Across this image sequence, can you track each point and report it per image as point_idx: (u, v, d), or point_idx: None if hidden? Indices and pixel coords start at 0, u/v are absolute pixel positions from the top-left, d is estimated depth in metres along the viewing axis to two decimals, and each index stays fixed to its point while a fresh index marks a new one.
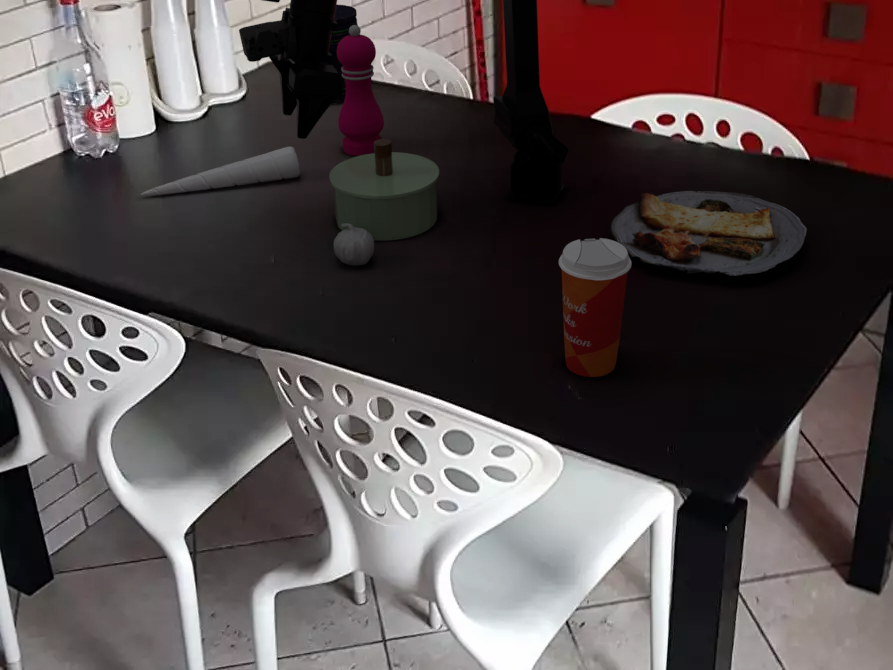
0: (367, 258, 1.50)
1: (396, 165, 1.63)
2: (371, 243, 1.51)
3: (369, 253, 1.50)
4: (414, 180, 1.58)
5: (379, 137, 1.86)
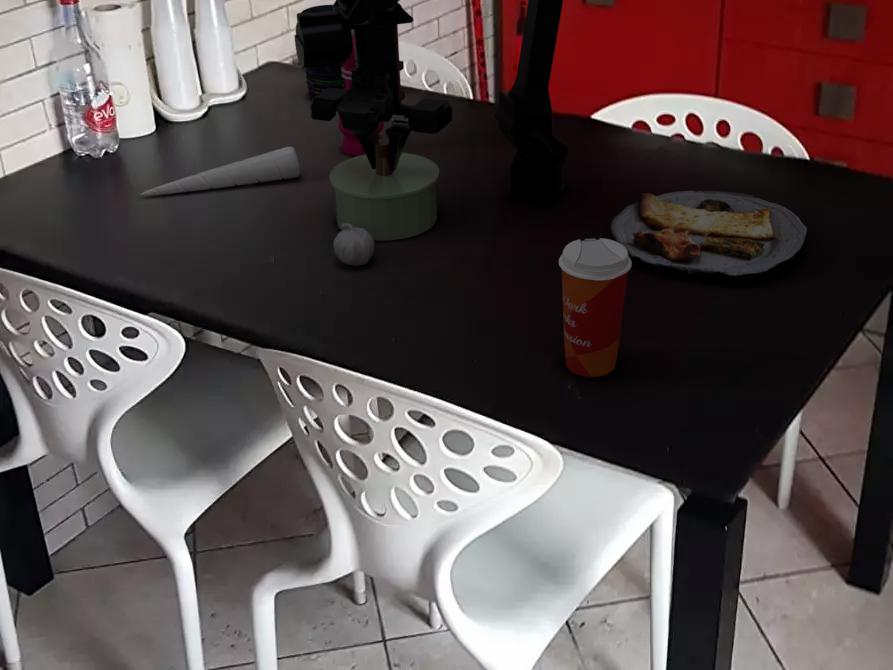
0: (367, 258, 1.50)
1: None
2: (371, 243, 1.51)
3: (369, 253, 1.50)
4: (414, 180, 1.58)
5: (379, 137, 1.86)
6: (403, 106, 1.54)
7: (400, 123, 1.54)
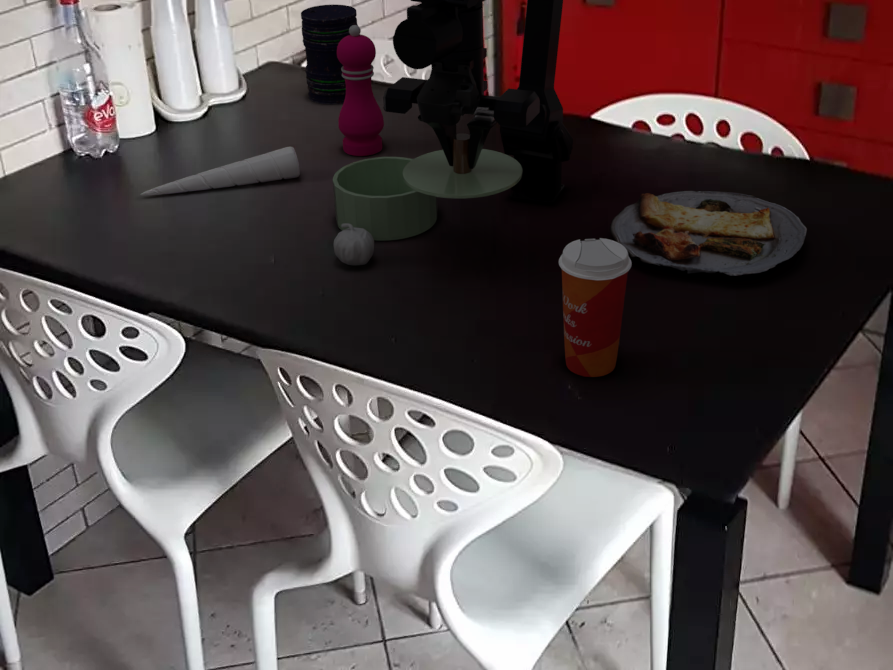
0: (367, 258, 1.50)
1: None
2: (371, 243, 1.51)
3: (369, 253, 1.50)
4: (496, 178, 1.45)
5: (379, 137, 1.86)
6: (486, 97, 1.41)
7: (483, 116, 1.41)
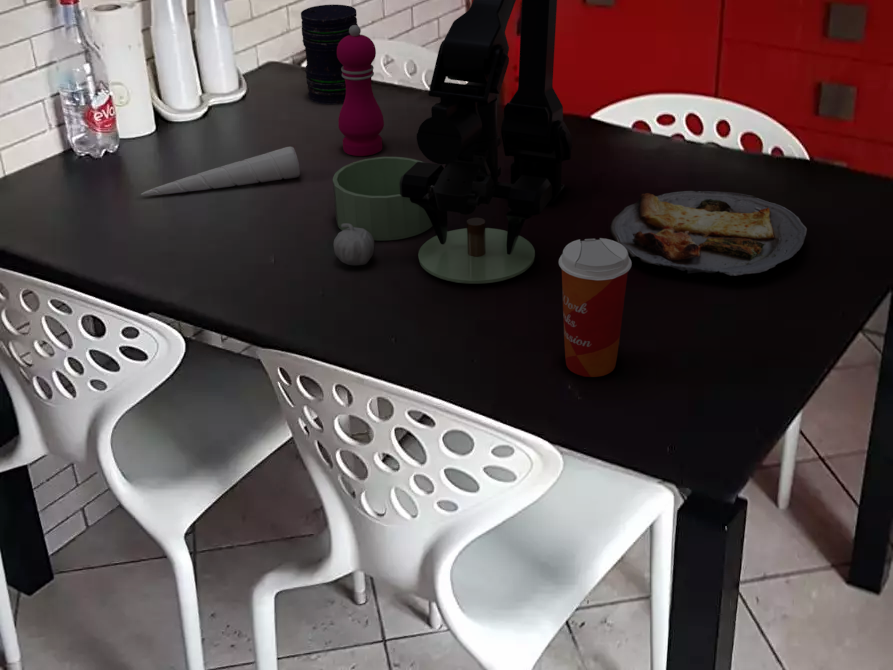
0: (367, 258, 1.50)
1: (488, 243, 1.54)
2: (371, 243, 1.51)
3: (369, 253, 1.50)
4: (510, 262, 1.49)
5: (379, 137, 1.86)
6: (500, 184, 1.45)
7: None
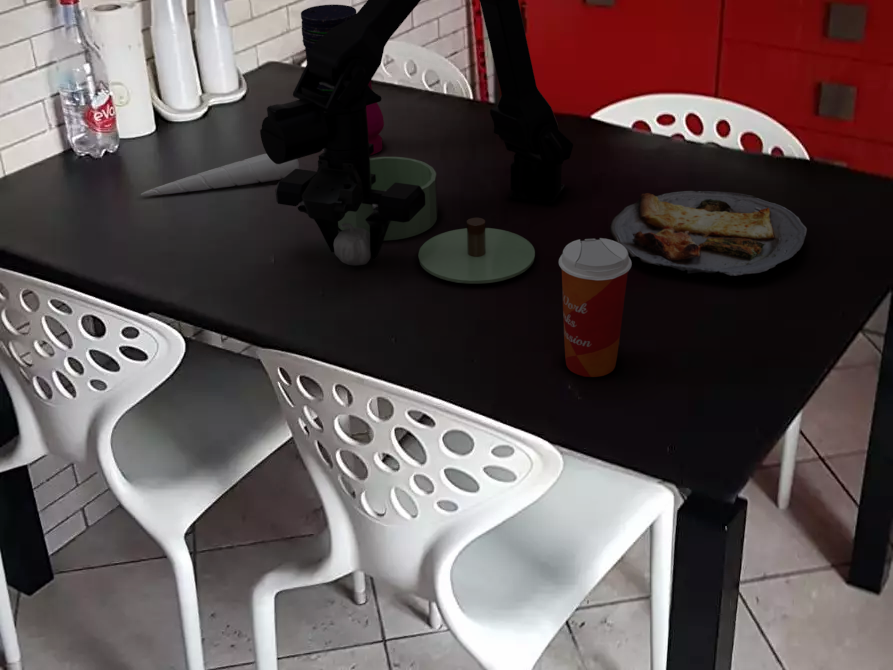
0: (367, 258, 1.50)
1: (488, 243, 1.54)
2: None
3: (369, 253, 1.50)
4: (510, 262, 1.49)
5: (379, 137, 1.86)
6: (373, 191, 1.46)
7: None
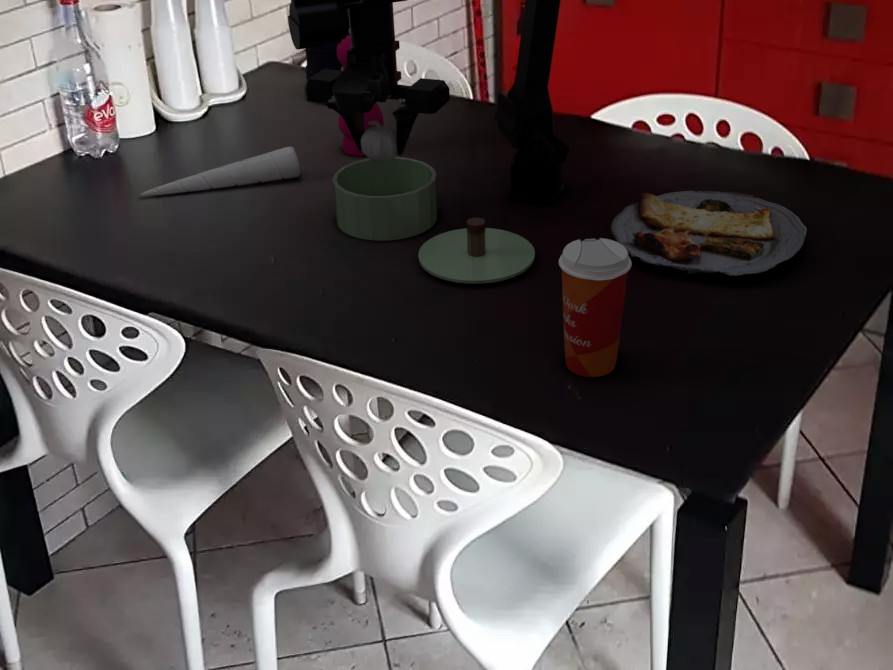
0: (394, 154, 1.55)
1: (488, 243, 1.54)
2: None
3: (395, 149, 1.55)
4: (510, 262, 1.49)
5: None
6: (399, 86, 1.51)
7: None
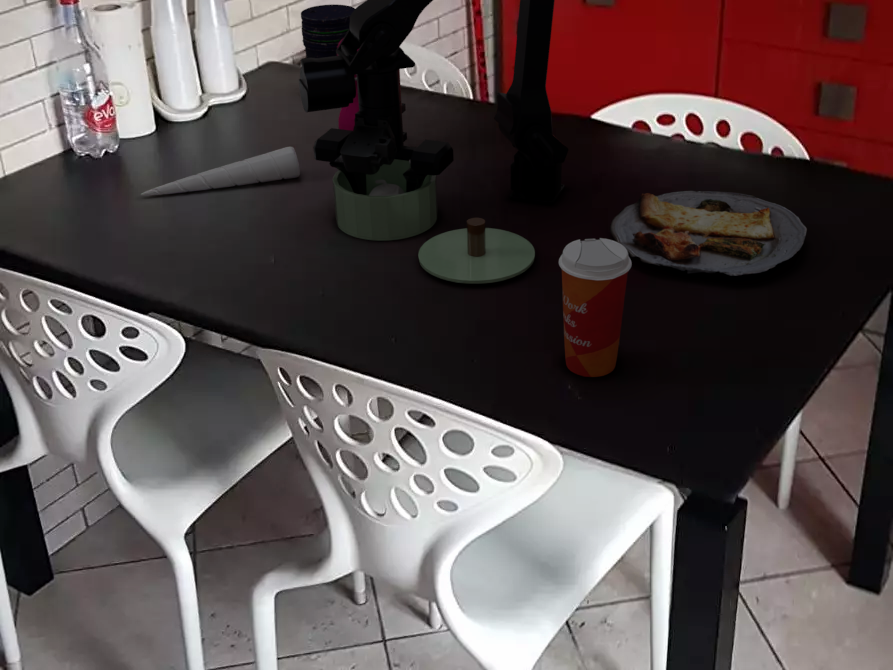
0: None
1: (488, 243, 1.54)
2: None
3: None
4: (510, 262, 1.49)
5: None
6: (405, 148, 1.57)
7: None
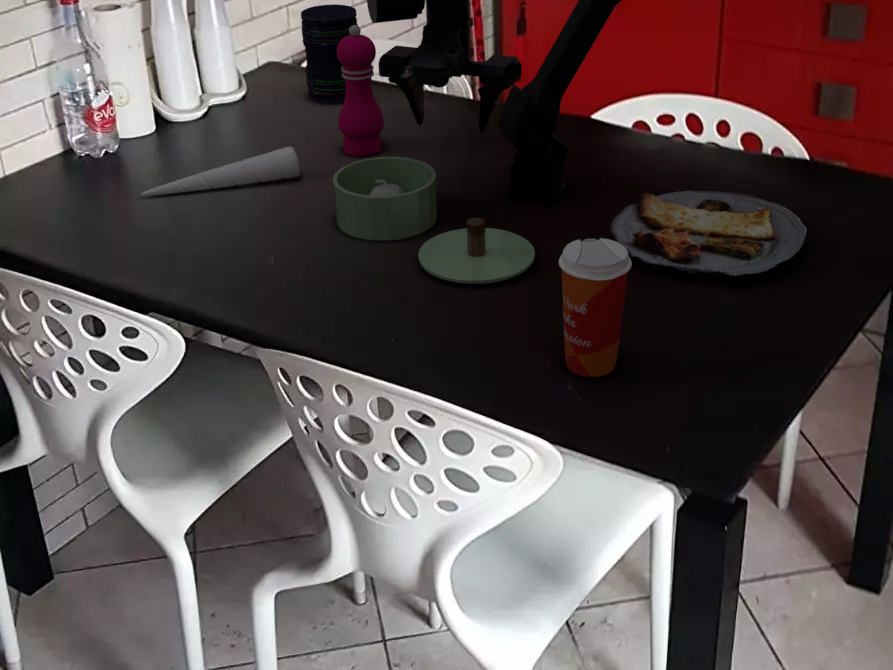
0: None
1: (488, 243, 1.54)
2: None
3: None
4: (510, 262, 1.49)
5: (379, 137, 1.86)
6: (473, 63, 1.54)
7: None
